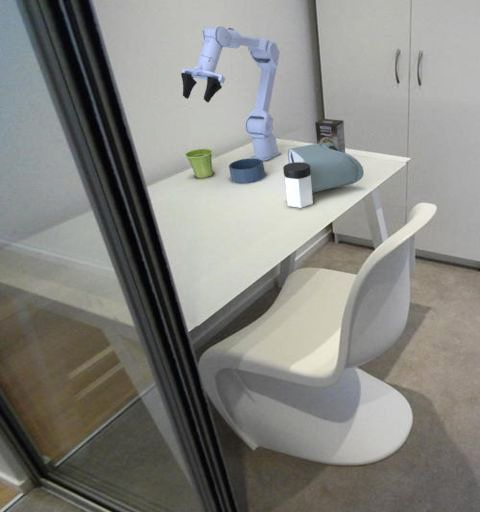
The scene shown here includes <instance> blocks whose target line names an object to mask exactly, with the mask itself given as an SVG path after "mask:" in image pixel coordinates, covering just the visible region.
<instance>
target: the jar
mask: <svg viewBox="0 0 480 512" xmlns="http://www.w3.org/2000/svg"><path fill="white" fill-rule="evenodd" d="M282 168H283V176H284V182H285V183H284V184H285V192H286V193H285V194H286V200H287V201H286V202H287V206H288V207H292V208H298V209H301V208H302V209H303V208H305V207H308V206H312V205H313V204H314V200H313V193H312V185H311V175H310V174H311V172H310V165H309V164H307V163H302V162H295V163H289V162H288V163H286V164H284V166H283V167H282Z"/></svg>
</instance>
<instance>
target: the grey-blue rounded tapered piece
mask: <svg viewBox="0 0 480 512" xmlns="http://www.w3.org/2000/svg"><path fill="white" fill-rule="evenodd" d="M287 160H288V164H289V163H295V162H302V163H307V164H309V165H310V172H311V174H310V175H311V185H312V194H313V193H316V192H322V191H326V190H330V189H335V188H338V187H346V186H350V185H353V184H356V183H358V182H359V181H361V180H362V178H363V177H364V167H363V165H362V164H361V162H360V161H359V160H358V159H357V158H355V157H354V156H353V155H350V154H349V153H346V152H345V153H343V152H339V151H338V150H337V148H336V147H335V146H334V145H333V144H332V143H330V142H326V143H319V144H317V143H313V144H312V143H311V144H306V145H301V146H296V147H290V148H288V150H287Z"/></svg>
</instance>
